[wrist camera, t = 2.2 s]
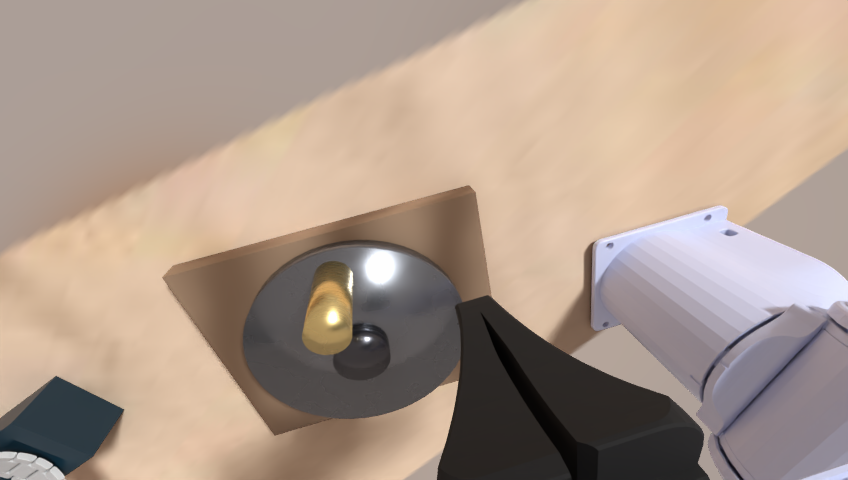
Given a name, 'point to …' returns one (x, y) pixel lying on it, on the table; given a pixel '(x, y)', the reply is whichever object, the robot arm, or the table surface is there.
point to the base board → (252, 265)
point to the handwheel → (353, 329)
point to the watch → (53, 432)
